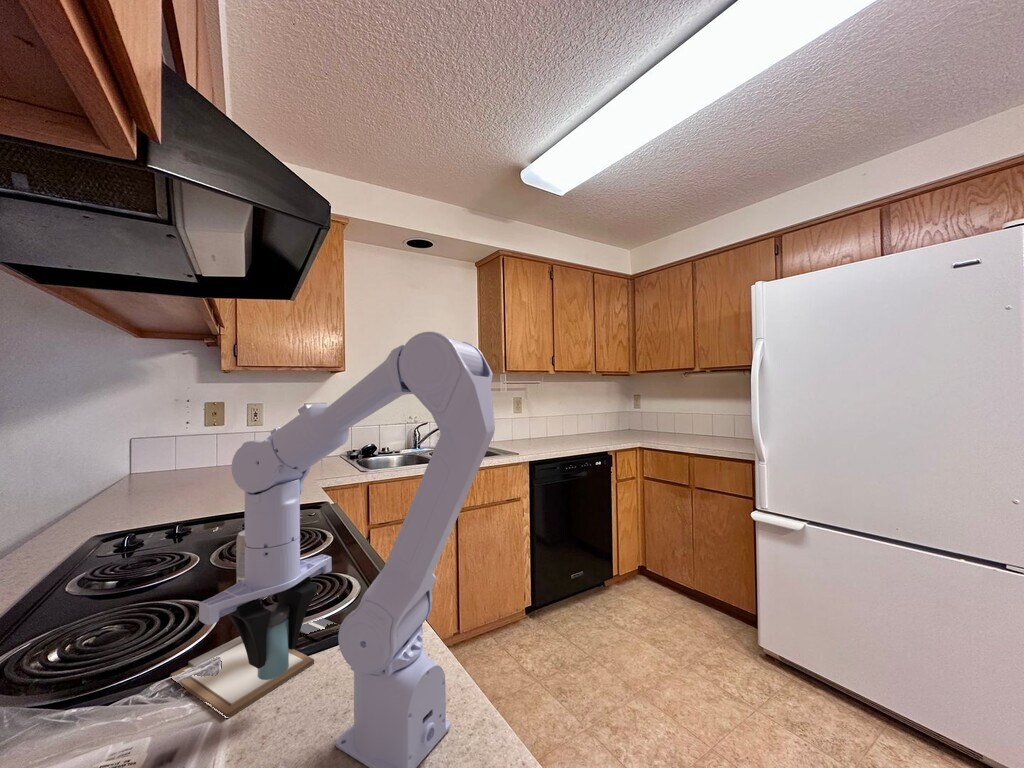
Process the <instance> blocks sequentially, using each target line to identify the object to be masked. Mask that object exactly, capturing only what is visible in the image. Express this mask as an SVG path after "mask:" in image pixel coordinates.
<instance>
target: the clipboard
mask: <svg viewBox="0 0 1024 768" xmlns="http://www.w3.org/2000/svg"><path fill="white" fill-rule="evenodd" d="M216 657H220V658H221V661H222V669H221V671H220V672H219V673H218V675H216V676H214V675H213V676H211V675H210V676H205V677H204V676H202V677H201V676H197V675H195V676H194V675H192V676H191V677H192V678H193V679H190V678H189V679H187V678H186V679H185V680H182V681H180V682H181V684H182V686H183V687H184V688H185V689H186V690H185V689H184V688H183V689H184V690H185V691H186V692H187V693H189V694H191V695H192V696H194V697H195V696H196V697H198V698H199V699H201V700H202V701H204V702H207V703H209V704H211V705H212V707H214V708H215V709H217V710H218V711H220V712H221V713H223V715H225V716H226V717H230V718H232V717H233V716H235V715H236V714H238V713H239V712H241V711H242V710H244V709H246V708H247V707H249V706H251V705H252V704H253V703H256V702H257V701H258V700H260V699H261V698H263V697H264V696H266V695H268V694H269V693H270V692H272V691H274V690H275V689H277V688H278V687H280V686H282V685H283V684H285V683H286V682H288V681H290V680H292V678H294V677H295V676H297V675H298V674H300V673H301V672H304V671H305V670H307V669H308V668H309V667H312V665H314V664H315V659H314V658H313V657H311V656H308V655H307V654H304V653H303V652H300V651H298V650H296V649H295V648H294V649H292V650H291V649H289V667H288V669H287V670H286V672H284V673H283V674H282V675H280V676H278V677H276V678H273V679H269V680H261V679H259V678H258V676H257V668H256V667H254V666H252V665H250V664H249V661H248V656H247V652H246V649H245V646H244V643H243V641H242V638H241V636H240V635H239V636H238V637H235V638H234V639H231V640H230V641H228V642H226V643H223V644H221V645H219V646H217V647H215V648H213V649H211V650H209V651H207V652H205V653H203V654H201V655H199V656H197V657H195V658H192V659H191V660H189V661H187V662H188V665H185V666H184V667H182V668H180V669H178V670H175V671H174V672H172V673H170V677H172V676H175V675H177V674H180V673H181V672H185V671H187V670H189V669H191V668H193V667H195V666H197V665H200V664H202V663H205V662H207V661H209V660H211V659H213V658H216ZM196 697H195V698H196ZM198 698H197V699H198ZM199 699H198V700H199ZM202 701H201V702H202Z"/></svg>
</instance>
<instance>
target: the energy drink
mask: <svg viewBox="0 0 1024 768" xmlns="http://www.w3.org/2000/svg"><path fill="white" fill-rule="evenodd" d="M235 549H236V550H235V552H236V554H235V555H236V556H235V557H236V560H235V561H236V568H235V569H236V570H235V574H236V576H235V581H236V583H235V584H237V583H239V582H241V581H242V580H244V579H245V529H243V530H241V531H239V532H238V533H237V537H236V548H235Z"/></svg>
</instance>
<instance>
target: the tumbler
mask: <svg viewBox="0 0 1024 768" xmlns="http://www.w3.org/2000/svg"><path fill="white" fill-rule="evenodd" d="M264 608H265V609H268V610H270V611H272V612H271V615H270V618H269V623H268V628H267V635H266V661H265V665H264V666H263V667H261V668H259V669H258V668H257V676H258V678H259V679H261V680H269V679H273V678H276V677H278V676H280V675H282V674H283V673H284V672H286V670H287V669H288V667H289V621H288V618H289V605H287V604H278V603H275V604H271V605H268V606H264Z"/></svg>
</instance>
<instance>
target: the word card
mask: <svg viewBox="0 0 1024 768" xmlns="http://www.w3.org/2000/svg"><path fill="white" fill-rule="evenodd" d="M321 618H322V619H319V620H317V621H313V622H310V623H307V624H305V625H302V626H301V630H300V632H301V633H305V634H309V633H310V632H314V631H317V630H319V629H320V630H322V629H325V627H326V626H327V624H328V625H330V624H333V623H334V624H337V623H335V622H333V621H331V620H328V619H325V618H323V617H321Z"/></svg>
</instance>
